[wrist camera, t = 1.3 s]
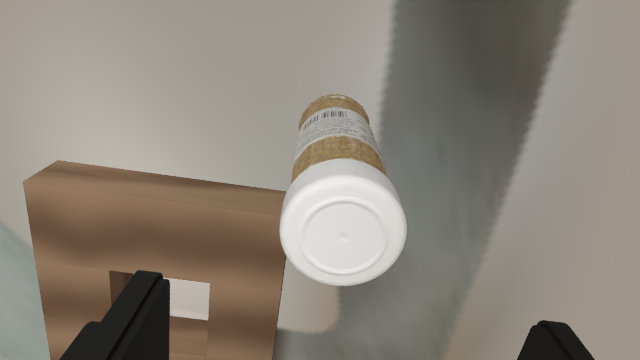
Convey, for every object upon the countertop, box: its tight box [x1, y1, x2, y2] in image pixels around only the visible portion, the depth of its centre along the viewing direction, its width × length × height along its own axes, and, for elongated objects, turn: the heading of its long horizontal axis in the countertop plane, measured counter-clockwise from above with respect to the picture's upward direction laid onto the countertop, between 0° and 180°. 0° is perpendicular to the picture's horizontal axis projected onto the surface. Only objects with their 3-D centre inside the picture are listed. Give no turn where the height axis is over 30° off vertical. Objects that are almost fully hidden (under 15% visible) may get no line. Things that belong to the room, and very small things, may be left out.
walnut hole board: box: [23, 161, 286, 360], centre depth 30 cm, size 18×16×4 cm
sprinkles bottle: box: [279, 95, 407, 286], centre depth 21 cm, size 5×5×13 cm
